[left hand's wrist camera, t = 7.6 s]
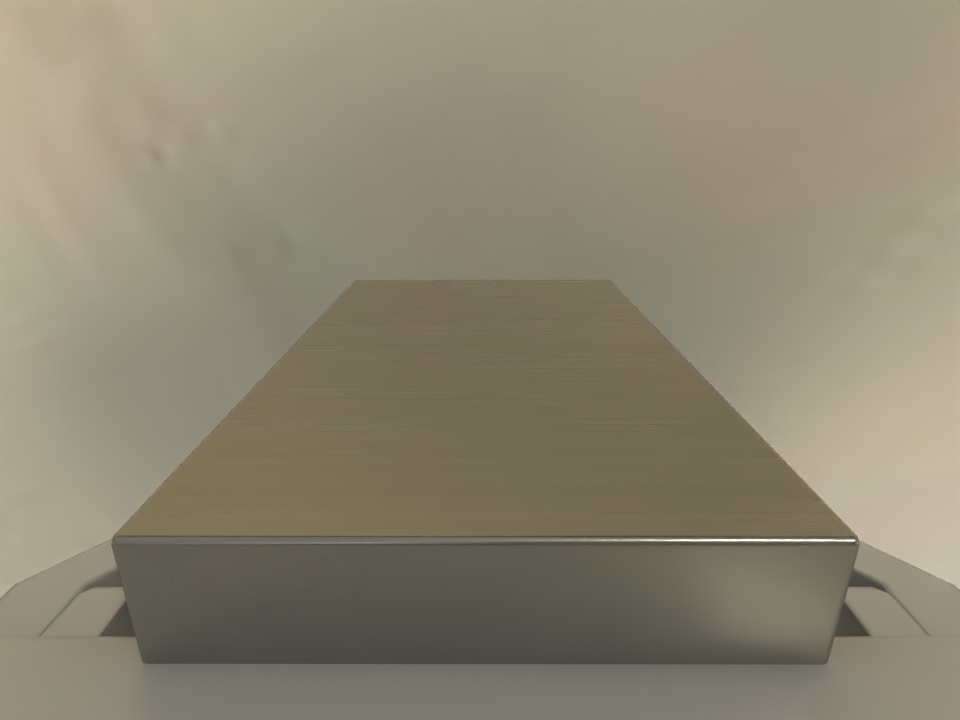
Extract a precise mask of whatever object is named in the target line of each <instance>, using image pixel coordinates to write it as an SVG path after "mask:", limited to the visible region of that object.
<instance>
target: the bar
mask: <svg viewBox="0 0 960 720" xmlns="http://www.w3.org/2000/svg"><path fill="white" fill-rule="evenodd" d="M111 546H112V550H113V553H114V557H115V561H116V565H117V569H118V572H119V576H120V580H121V584H122V587H123V591H124V595H125V599H126V602H127V606H128V610H129V614H130V618H131V621H132V625H133V629H134V633H135V636H136V640H137V644H138V648H139V651H140V655H141V659H142V662H143V663H146V664H713V665H824V664H826V663H828V660H829V656H830V653H831V649H832V645H833V641H834V638H835V634H836V630H837V627H838V623H839V619H840V616H841V612H842V608H843V605H844V601H845V597H846V594H847V590H848V586H849V583H850V579H851V575H852V572H853V568H854V564H855V560H856V557H857V553H858V549H859V546H860V545H859V539H858V537H857V535H856V534H855V533H854V532H853V531H852V530H851V529H850V528H849V527H848V526H847V525H846V524H845V523H844V522H843V521H842V520H841V519H840V518H839V517H838V516H837V515H836V514H835V513H834V512H833V511H832V510H831V509H830V508H829V506H828V505H827V504H826V503H825V502H824V501H823V500H822V499H821V498H820V497H819V496H818V495H817V494H816V493H815V492H814V491H813V490H812V489H811V488H810V487H809V486H808V485H807V484H806V483H805V482H804V481H803V480H802V479H801V477H800V476H799V475H798V474H797V473H796V472H795V471H794V470H793V469H792V468H791V467H790V466H789V465H788V464H787V463H786V462H785V461H784V460H783V459H782V458H781V457H780V456H779V455H778V454H777V453H776V452H775V451H774V450H773V448H772V447H771V446H770V445H769V444H768V443H767V442H766V441H765V440H764V439H763V438H762V437H761V436H760V435H759V434H758V433H757V432H756V431H755V430H754V429H753V428H752V427H751V426H750V425H749V424H748V423H747V422H746V421H745V420H744V418H743V417H742V416H741V415H740V414H739V413H738V412H737V411H736V410H735V409H734V408H733V407H732V406H731V405H730V404H729V403H728V402H727V401H726V400H725V399H724V398H723V397H722V396H721V395H720V394H719V393H718V392H717V391H716V389H715V388H714V387H713V386H712V385H711V384H710V383H709V382H708V381H707V380H706V379H705V378H704V377H703V376H702V375H701V374H700V373H699V372H698V371H697V370H696V369H695V368H694V367H693V366H692V365H691V364H690V363H689V362H688V360H687V359H686V358H685V357H684V356H683V355H682V354H681V353H680V352H679V351H678V350H677V349H676V348H675V347H674V346H673V345H672V344H671V343H670V342H669V341H668V340H667V339H666V338H665V337H664V336H663V335H662V334H661V333H660V331H659V330H658V329H657V328H656V327H655V326H654V325H653V324H652V323H651V322H650V321H649V320H648V319H647V318H646V317H645V316H644V315H643V314H642V313H641V312H640V311H639V310H638V309H637V308H636V307H635V306H634V305H633V304H632V302H631V301H630V300H629V299H628V298H627V297H626V296H625V295H624V294H623V293H622V292H621V291H620V290H619V289H618V288H617V287H616V286H615V285H614V284H613V283H612V282H611V281H610V280H356V281H354V282H353V283H352V284H351V285H350V286H349V287H348V288H347V289H346V290H345V291H344V292H343V293H342V294H341V296H340V297H339V298H338V299H337V300H336V301H335V302H334V303H333V304H332V305H331V306H330V307H329V308H328V309H327V310H326V311H325V312H324V314H323V315H322V316H321V317H320V318H319V319H318V320H317V321H316V322H315V323H314V324H313V325H312V326H311V327H310V328H309V329H308V330H307V332H306V333H305V334H304V335H303V336H302V337H301V338H300V339H299V340H298V341H297V342H296V343H295V344H294V345H293V346H292V347H291V348H290V350H289V351H288V352H287V353H286V354H285V355H284V356H283V357H282V358H281V359H280V360H279V361H278V362H277V363H276V364H275V365H274V366H273V368H272V369H271V370H270V371H269V372H268V373H267V374H266V375H265V376H264V377H263V378H262V379H261V380H260V381H259V382H258V383H257V384H256V386H255V387H254V388H253V389H252V390H251V391H250V392H249V393H248V394H247V395H246V396H245V397H244V398H243V399H242V400H241V401H240V403H239V404H238V405H237V406H236V407H235V408H234V409H233V410H232V411H231V412H230V413H229V414H228V415H227V416H226V417H225V418H224V419H223V421H222V422H221V423H220V424H219V425H218V426H217V427H216V428H215V429H214V430H213V431H212V432H211V433H210V434H209V435H208V436H207V437H206V439H205V440H204V441H203V442H202V443H201V444H200V445H199V446H198V447H197V448H196V449H195V450H194V451H193V452H192V453H191V454H190V455H189V457H188V458H187V459H186V460H185V461H184V462H183V463H182V464H181V465H180V466H179V467H178V468H177V469H176V470H175V471H174V472H173V473H172V475H171V476H170V477H169V478H168V479H167V480H166V481H165V482H164V483H163V484H162V485H161V486H160V487H159V488H158V489H157V490H156V491H155V493H154V494H153V495H152V496H151V497H150V498H149V499H148V500H147V501H146V502H145V503H144V504H143V505H142V506H141V507H140V508H139V509H138V511H137V512H136V513H135V514H134V515H133V516H132V517H131V518H130V519H129V520H128V521H127V522H126V523H125V524H124V525H123V526H122V527H121V529H120V530H119V531H118V532H117V533H116V534H115V535H114V536H113V539H112V543H111Z"/></svg>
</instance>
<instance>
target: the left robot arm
mask: <svg viewBox="0 0 960 720" xmlns="http://www.w3.org/2000/svg"><path fill="white" fill-rule="evenodd" d="M112 539H113V538H112ZM112 539H110V540H108V541H106V542H104V543H102V544H100V545H97V546H95V547H93V548H91V549H89V550H87V551H85V552H83V553H81V554H79V555H76V556H74V557H72V558H70V559H68V560H66V561H64V562H62V563H60V564H57V565H55V566H53V567H51V568H49V569H47V570H45V571H43V572H41V573H38V574H36V575H34V576H32V577H30V578H28V579H26V580H24V581H22V582H19V583H17V584H15V585H14V586H13V587H12V588H11V589H10V590H9V591H8V592H7V593H6V594H5V595H4V596H3V597H1V598H0V720H960V590H959V589H958V588H957V587H956V586H955V585H953V584H950V583H948V582H946V581H944V580H942V579H940V578H938V577H936V576H933V575H931V574H929V573H927V572H925V571H923V570H921V569H919V568H916V567H914V566H912V565H910V564H908V563H906V562H904V561H902V560H899V559H897V558H895V557H893V556H891V555H889V554H887V553H885V552H882V551H880V550H878V549H876V548H874V547H872V546H870V545H868V544H865V543H863V542H861V541H859V545H860V546H859V549H858V553H857V557H856V560H855V564H854V568H853V572H852V575H851V579H850V583H849V586H848V590H847V594H846V597H845V601H844V605H843V608H842V612H841V616H840V619H839V623H838V627H837V630H836V634H835V638H834V641H833V645H832V649H831V653H830V656H829V660H828V663H826V664H824V665H713V664H146V663H143V662H142V659H141V655H140V651H139V648H138V644H137V640H136V636H135V633H134V629H133V625H132V621H131V618H130V614H129V610H128V606H127V602H126V599H125V595H124V591H123V587H122V584H121V580H120V576H119V572H118V569H117V565H116V561H115V557H114V553H113V550H112V546H111V543H112Z"/></svg>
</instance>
